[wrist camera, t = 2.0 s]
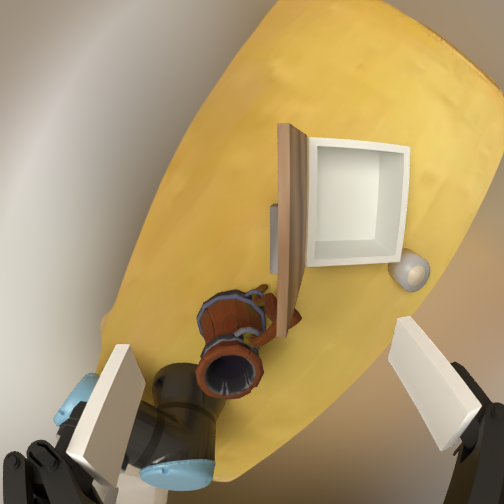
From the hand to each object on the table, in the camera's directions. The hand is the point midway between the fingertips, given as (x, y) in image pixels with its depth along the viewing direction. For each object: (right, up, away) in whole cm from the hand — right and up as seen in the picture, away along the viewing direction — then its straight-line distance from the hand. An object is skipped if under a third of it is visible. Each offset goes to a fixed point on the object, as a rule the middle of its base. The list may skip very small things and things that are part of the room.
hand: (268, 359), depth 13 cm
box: (+13, +14, +28) cm, 34 cm away
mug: (-2, -4, +34) cm, 34 cm away
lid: (+4, +8, +14) cm, 16 cm away
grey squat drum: (+26, +3, +33) cm, 42 cm away
